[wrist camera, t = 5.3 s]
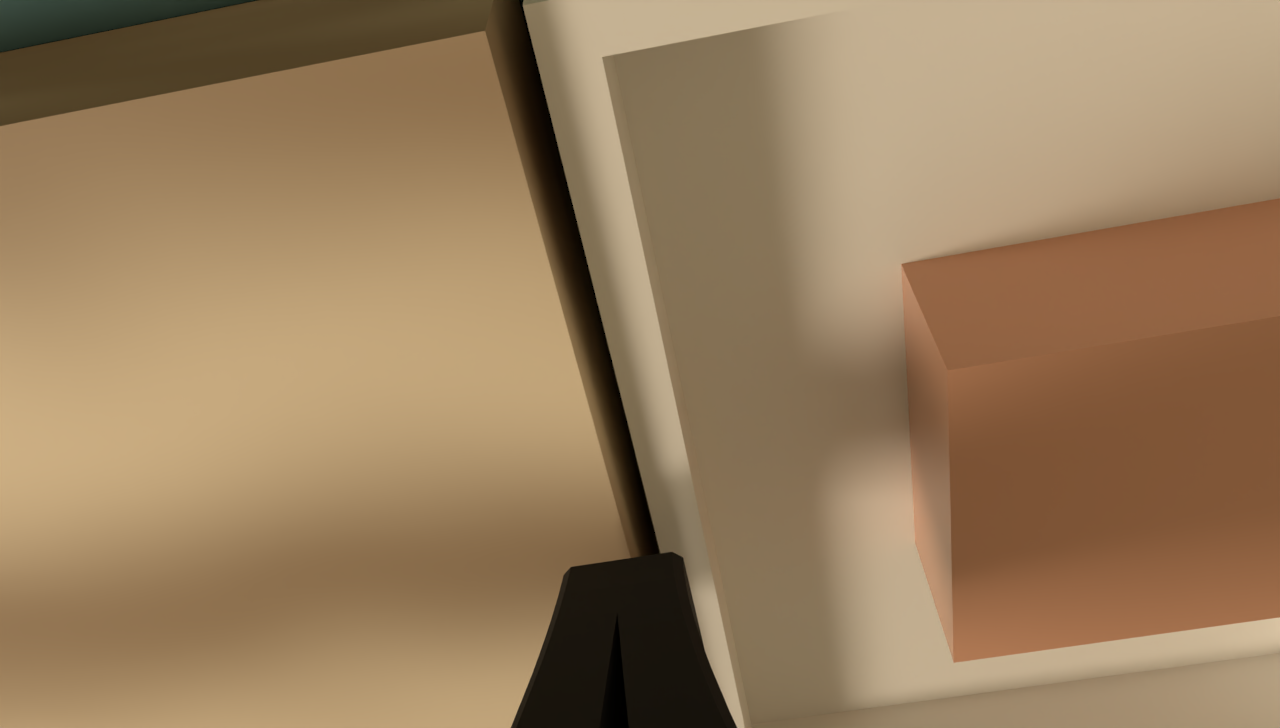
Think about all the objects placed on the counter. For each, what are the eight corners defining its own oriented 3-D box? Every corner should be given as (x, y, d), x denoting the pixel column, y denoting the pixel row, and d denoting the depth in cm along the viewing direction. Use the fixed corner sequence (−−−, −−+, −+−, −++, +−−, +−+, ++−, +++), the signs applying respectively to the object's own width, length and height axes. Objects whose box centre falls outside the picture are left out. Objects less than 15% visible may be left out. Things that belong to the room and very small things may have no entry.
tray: (1301, 651, 18) (1367, 753, 17) (720, 729, 19) (731, 833, 18) (1566, -267, 10) (1746, -237, 9) (534, -56, 11) (522, 5, 9)
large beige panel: (704, 731, 19) (715, 864, 17) (112, 811, 20) (57, 945, 18) (506, -51, 11) (485, 30, 9) (-469, 148, 12) (-683, 260, 10)
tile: (953, 662, 14) (914, 543, 16) (1341, 608, 14) (1257, 492, 16) (947, 370, 11) (901, 263, 13) (1440, 289, 11) (1322, 191, 13)
